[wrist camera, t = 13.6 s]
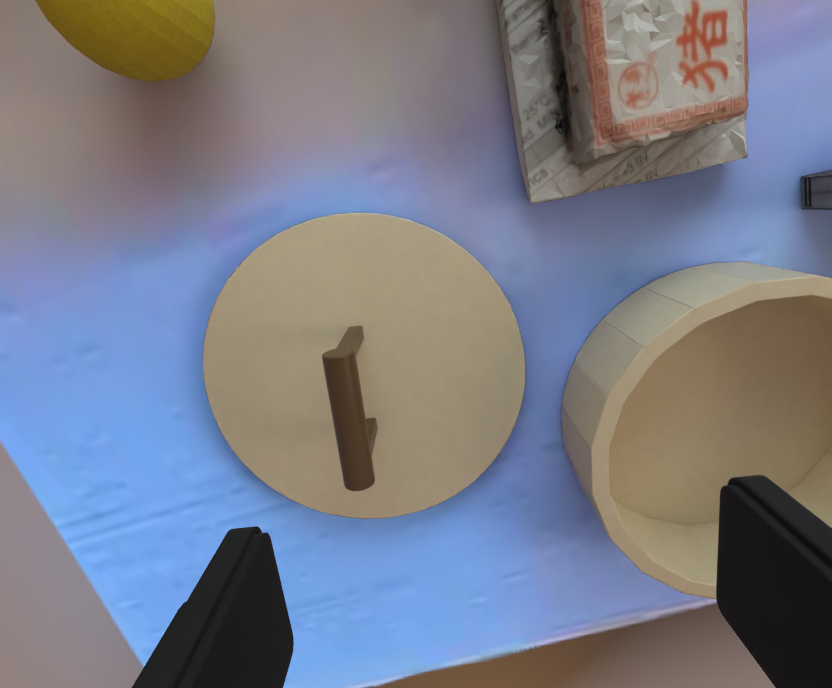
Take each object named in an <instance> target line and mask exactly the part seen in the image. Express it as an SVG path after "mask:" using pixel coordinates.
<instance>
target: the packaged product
mask: <svg viewBox="0 0 832 688" xmlns="http://www.w3.org/2000/svg"><path fill="white" fill-rule="evenodd" d="M496 7H497V14H498V20H499V27H500V34H501V41H502V47H503V54H504V61H505V68H506V74H507V81H508V88H509V94H510V101H511V108H512V114H513V121H514V128H515V134H516V141H517V148H518V155H519V161H520V167H521V171H522V175H523V179H524V184H525V188H526V192H527V196H528V200H529V201H530V203H531V204H533V203H540V202H546V201H553V200H559V199H564V198H568V197H572V196H576V195H580V194H585V193H589V192H593V191H597V190H601V189H605V188H610V187H617V186H623V185H629V184H635V183H641V182H646V181H650V180H655V179H660V178H665V177H669V176H674V175H679V174H684V173H688V172H692V171H696V170H700V169H704V168H708V167H712V166H715V165H719V164H723V163H727V162H731V161H735V160H739V159H743V158H748V155H747V147H746V128H745V120H746V115H747V108H748V105H749V104H748V99H747V92H748V78H749V69H748V49H747V0H496Z"/></svg>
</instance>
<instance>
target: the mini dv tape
mask: <svg viewBox="0 0 832 688" xmlns="http://www.w3.org/2000/svg"><path fill="white" fill-rule="evenodd" d="M801 187H802V209H820V210H832V170H827V171H823V172H819V173H815V174H810V175H806V176H802V177H801Z"/></svg>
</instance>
